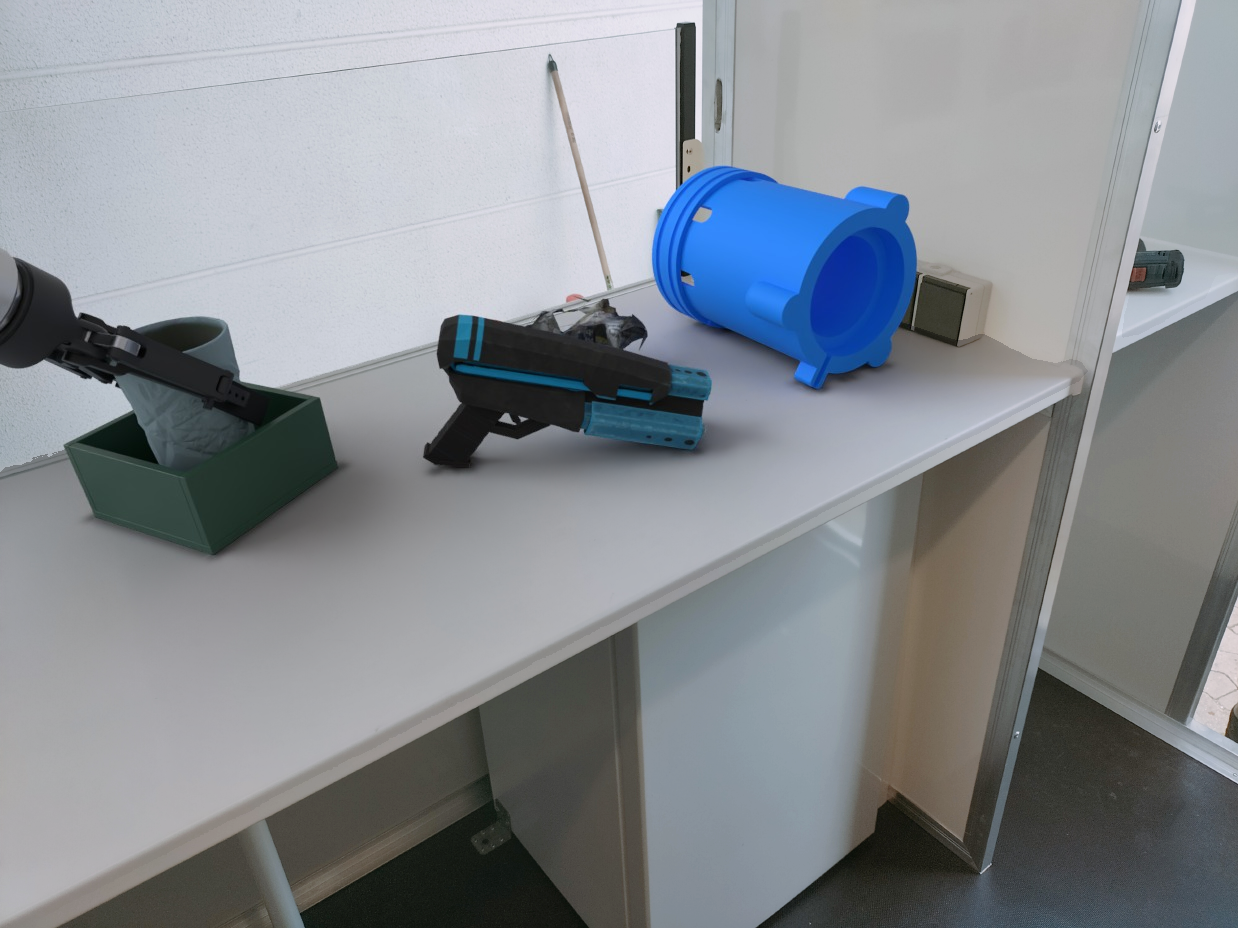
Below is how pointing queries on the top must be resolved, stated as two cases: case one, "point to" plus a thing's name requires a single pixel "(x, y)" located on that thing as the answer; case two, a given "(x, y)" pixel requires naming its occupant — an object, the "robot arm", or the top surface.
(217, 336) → the grey-blue textured cup
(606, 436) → the gun
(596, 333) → the foil
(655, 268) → the tube
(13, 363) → the robot arm
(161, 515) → the open box
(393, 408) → the top surface
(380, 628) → the top surface
